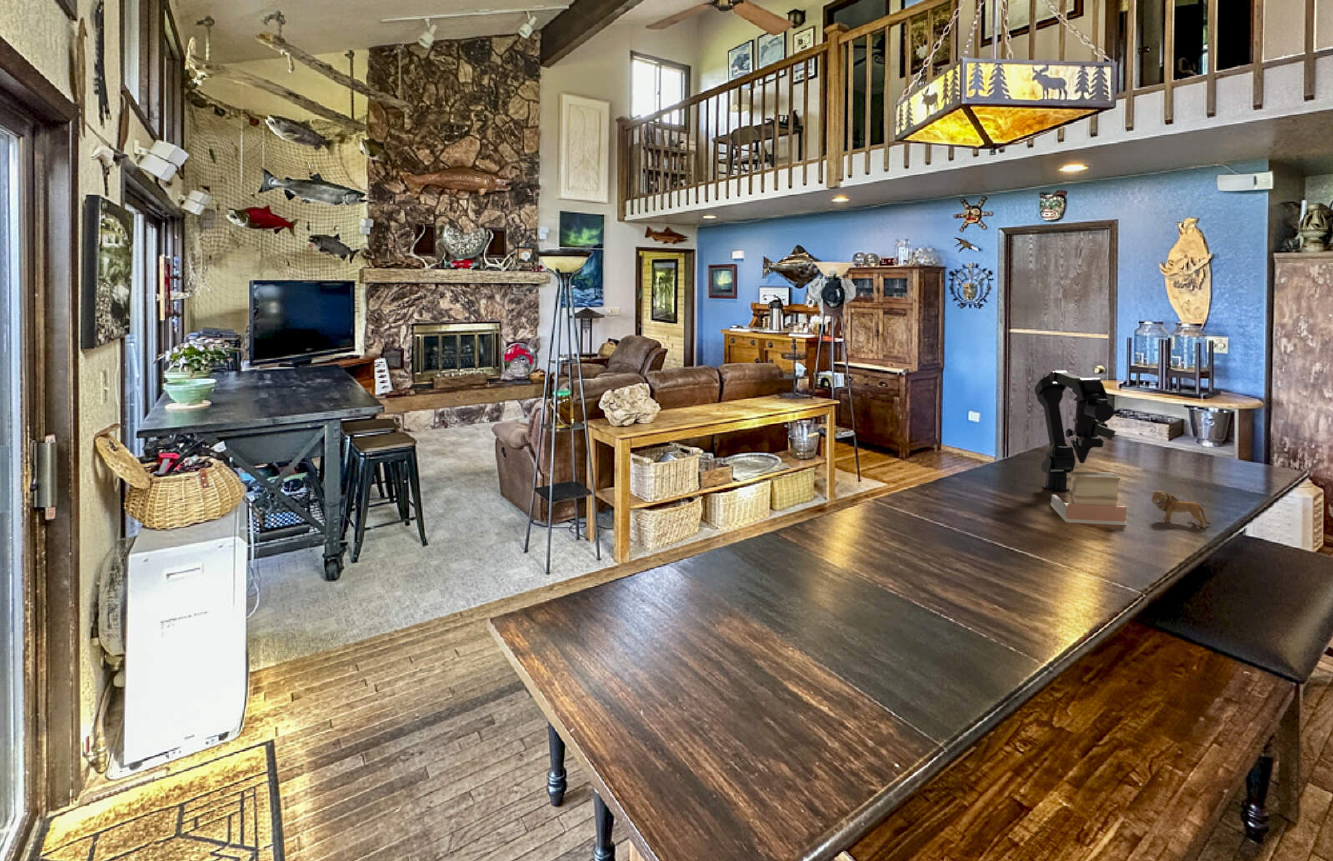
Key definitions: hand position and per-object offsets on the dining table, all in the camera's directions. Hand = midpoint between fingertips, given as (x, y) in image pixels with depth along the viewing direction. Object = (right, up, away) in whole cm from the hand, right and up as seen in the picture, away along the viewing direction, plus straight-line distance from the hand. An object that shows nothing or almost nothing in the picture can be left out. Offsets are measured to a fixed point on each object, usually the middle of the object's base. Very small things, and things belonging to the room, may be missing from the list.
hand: (1081, 463), depth 228 cm
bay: (-6, -16, -12) cm, 20 cm away
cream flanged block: (-7, -15, -16) cm, 23 cm away
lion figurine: (+16, -17, -21) cm, 31 cm away
